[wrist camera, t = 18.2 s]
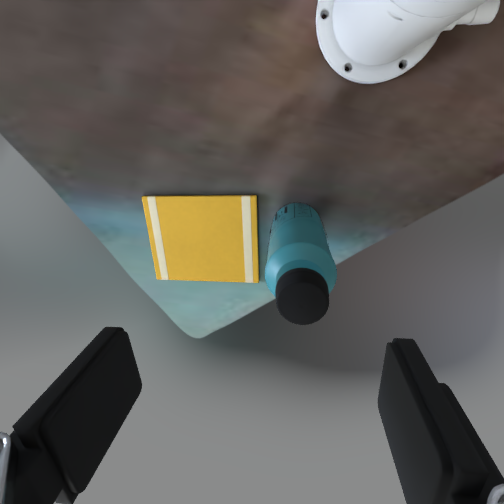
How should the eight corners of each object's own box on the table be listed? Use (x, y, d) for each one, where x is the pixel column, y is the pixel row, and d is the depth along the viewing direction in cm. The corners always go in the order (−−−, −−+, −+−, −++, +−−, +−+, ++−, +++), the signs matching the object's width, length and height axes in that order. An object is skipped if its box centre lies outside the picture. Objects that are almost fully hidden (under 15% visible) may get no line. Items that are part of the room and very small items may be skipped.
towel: (256, 195, 38) (256, 196, 38) (259, 280, 43) (258, 283, 43) (143, 195, 40) (141, 196, 40) (158, 277, 45) (156, 279, 45)
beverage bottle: (286, 189, 38) (282, 248, 19) (331, 212, 38) (367, 291, 20) (264, 231, 40) (241, 317, 22) (305, 252, 41) (317, 353, 22)
